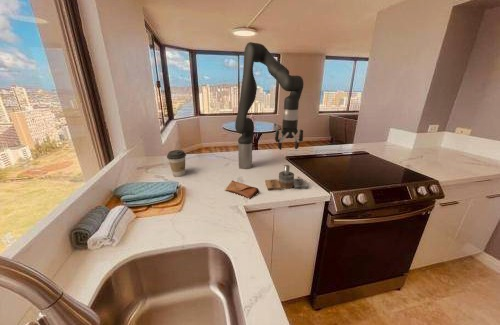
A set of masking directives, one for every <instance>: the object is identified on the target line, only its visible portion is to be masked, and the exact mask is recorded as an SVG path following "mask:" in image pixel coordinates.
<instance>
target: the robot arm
mask: <svg viewBox="0 0 500 325" xmlns="http://www.w3.org/2000/svg"><path fill="white" fill-rule="evenodd" d="M243 52H244V53H243V67H242V68H243V71H242V81H241V88H240V96H239V102H238V103H239V104H238V110H237V113H236V114H237V115H236V117H235V118H236V119H235V122H234V126H235V131H236V132H237V133H238V134H240V135H241V134H242V135H241V136H240V137H238V139H237V143H238V144H237V148H238V149H237V150H238V168H239V169H242V170H248V169H251V168H252V167H253V140H254V130H255V129H254V128H255V127H254V126H255V125H254V121H253V119H252V118H250V117H247V116H248V113H249V111H250V109H251V107H252V106H253V104H254V102H255V100H256V98H257V97H256V96H257V91H258V87H257V86H258V85H257V82H256V78H255V76H254V64H255V63H260V64H263V65H265V66H266V68H267V71H268V73H269V74H270V75H271V76H272V78H274V79H275V80H276V81H277V83H278V84H279V85H280V87H281V89H282V90H284V91H286V92H290V93H289V95H288V96H285V98H284V100H283V101H284V102H283V112H282V126H281V129H276V130H275V136H274V140H275V142H276V143H278V145H277V147H278V149H279V151H280V150H282V146H283V144H282V143H283V141H284V140H285V139H294V141H295V142H294V149H295V150H298V148H299V147H300V145H299V144H300V142H303V140H304V130H303V129H301V128H300V129H298V120H299V103H300V99H301V97H302V93H303V89H304V80H303V77H302V76H300V75H291V74H290V70H289V69H288V68H287V67H286V66H284V64H282V62H281V63H280V62H279V61H278V60H277V59H276V58H275V57H274V56H273V55H272V53H271V52H270V51H269V50H268V48H267V47H266V46H265V45H264V44H262V43H260V42H259V43H258V42H249V41H248V42H247V43H246V45H245V47H244V51H243ZM280 134H281V135H280ZM297 134H298V135H299V136H297ZM279 137H280V138H279Z"/></svg>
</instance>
